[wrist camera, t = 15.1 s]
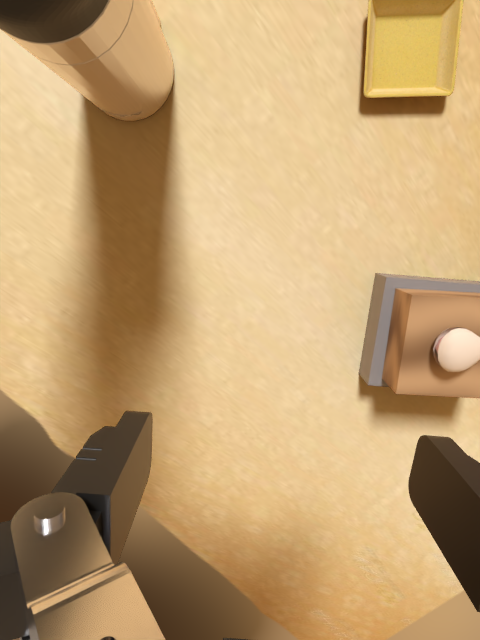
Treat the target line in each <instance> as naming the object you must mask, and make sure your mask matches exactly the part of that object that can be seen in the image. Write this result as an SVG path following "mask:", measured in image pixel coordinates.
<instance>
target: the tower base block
mask: <svg viewBox="0 0 480 640" xmlns="http://www.w3.org/2000/svg"><path fill="white" fill-rule="evenodd" d="M395 288H401V289H420V290H438V291H457V292H476V293H480V282H479V281H466V280H454V279H442V278H430V277H417V276H405V275H393V274H380V273H375V279H374V285H373V291H372V297H371V303H370V309H369V315H368V321H367V327H366V333H365V339H364V345H363V351H362V357H361V363H360V369H359V374H360V376H361V377H362V378H363V380H364V381H365V382H366V383H367V385H372V386H385V387H389V386H388V385H387V383H386V382H385V381H384V380H383V379H382V374H383V367H384V361H385V354H386V347H387V341H388V334H389V328H390V321H391V314H392V308H393V301H394V295H395Z"/></svg>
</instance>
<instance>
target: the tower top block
mask: <svg viewBox="0 0 480 640" xmlns="http://www.w3.org/2000/svg"><path fill="white" fill-rule="evenodd" d="M454 327H460V328H465V329H467V330H469V331H471V332H473V333H474V334H476V335H477V336H479V337H480V293H476V292H457V291H438V290H420V289H401V288H395V295H394V301H393V308H392V314H391V321H390V328H389V334H388V341H387V347H386V354H385V361H384V367H383V374H382V379H383V380H384V381H385V382H386V383H387V385H388V386H389V387H390V388H391V389H392V390H393V391H394V392H395V393H396V394H408V395H428V396H447V397H466V398H480V360H479V361H478V362H477V363H476V364H474V365H473V366H472V367H470V368H468V369H466V370H463V371H460V372H447V371H446V370H445V369H443V368H442V367H441V366H439V364H438V363H437V362H436V360H435V358H434V351H433V348H434V344H435V341H436V340H437V338H438V336H439V335H440V334H441V333H442V331H444V330H446V329H448V328H454Z"/></svg>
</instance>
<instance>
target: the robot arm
mask: <svg viewBox="0 0 480 640" xmlns="http://www.w3.org/2000/svg"><path fill="white" fill-rule="evenodd" d="M160 26H161V23H160V19H159V17H158V15H157V12H156V10H155V7H154V5H153V2H152V0H0V29H1V30H2V31H4V32H5V33H6V34H7V35H9V36H10V37H11V38H12V39H14V40H15V41H16V42H17V43H18V44H20V45H21V46H22V47H23V48H25V49H26V50H27V51H29V52H30V53H31V54H32V55H34V56H35V57H36V58H37V59H39V60H40V61H41V62H42V63H44V64H45V65H46V66H47V67H49V68H50V69H51V70H52V71H54V72H55V73H56V74H57V75H59V76H60V77H61V78H62V79H64V80H65V81H66V82H67V83H68V84H70V85H71V86H72V87H73V88H75V89H76V90H77V91H78V92H80V93H81V94H82V95H83V96H85V97H86V98H87V99H88V100H90V101H91V102H92V103H93V104H95V105H96V106H97V107H98V108H99V109H100V110H102V111H104V112H105V113H106V114H108V115H110V116H112V117H114V118H116V119H120V120H125V121H137V120H140V119H144V118H147V117H148V116H150V115H152V114H154V113H155V112H156V111H157V110H158V109H160V108H161V107H162V105H163V104H164V102H165V101H166V100H167V98H168V96H169V93H170V91H171V88H172V84H173V77H174V67H173V60H172V56H171V53H170V50H169V47H168V45H167V42H166V40H165V38H164V35H163V33H162V30H161V28H160ZM151 454H152V413H149V412H137V411H125V413H124V414H123V416H122V418H121V419H120V421H119V423H118V424H117V426H116V427H109V426H105V427H103V428H102V429H100V430H99V431H97V432H96V433H94V434H92V435H91V436H90V438H89V439H88V440H87V442H86V443H85V445H84V446H83V449H81V450H80V452H79V453H78V455H77V456H76V459H75V460H74V461H73V462H72V463H71V465H70V466H69V468H68V469H67V471H66V472H65V474H64V475H63V476H62V478H61V479H60V481H59V482H58V484H57V485H56V486H55V488H54V489H53V491H52V492H51V493H50V494H46V495H43V496H40V497H38V498H35V499H33V500H31V501H30V502H28V503H26V504H25V505H24V506H22V507H21V508H20V509H19V510H18V511H17V512H16V514H15V515H14V517H13V519H12V520H11V521H7V522H2V523H0V640H12V639H16V638H20V640H165V638H164V636H163V634H162V632H161V630H160V628H159V626H158V624H157V622H156V620H155V619H154V616H153V614H152V612H151V611H150V609H149V607H148V605H147V603H146V601H145V599H144V597H143V595H142V593H141V591H140V589H139V587H138V585H137V583H136V581H135V579H134V577H133V575H132V573H131V571H130V569H129V568H128V566H127V565H126V564H125V563H124V562H120V563H118V561H119V558H120V556H121V553H122V550H123V547H124V545H125V542H126V539H127V536H128V534H129V531H130V528H131V525H132V522H133V520H134V517H135V514H136V512H137V509H138V506H139V503H140V501H141V498H142V495H143V492H144V489H145V487H146V484H147V481H148V478H149V473H150V467H151ZM409 494H410V498H411V501H412V503H413V505H414V507H415V508H416V510H417V512H418V513H419V515H420V517H421V518H422V520H423V522H424V523H425V525H426V527H427V528H428V530H429V532H430V533H431V535H432V537H433V538H434V540H435V542H436V543H437V545H438V547H439V548H440V550H441V552H442V553H443V555H444V557H445V558H446V560H447V562H448V563H449V565H450V567H451V568H452V570H453V572H454V573H455V575H456V577H457V578H458V580H459V582H460V583H461V585H462V587H463V588H464V590H465V592H466V593H467V595H468V596H469V598H470V600H471V602H472V603H473V605H474V607H475V608H476V610H477V612H480V463H479V462H478V461H476V460H474V459H473V458H471V457H470V456H468V455H467V454H466V453H465V452H464V451H463V450H462V449H461V448H460V447H459V446H458V445H457V444H456V443H455V442H454V441H453V440H452V439H451V438H449V437H439V436H427V435H423V436H421V437H420V438H419V440H418V443H417V447H416V451H415V456H414V460H413V464H412V469H411V473H410V477H409ZM223 640H246V639H231V638H223Z"/></svg>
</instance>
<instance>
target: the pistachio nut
mask: <svg viewBox="0 0 480 640" xmlns="http://www.w3.org/2000/svg"><path fill="white" fill-rule="evenodd" d="M433 351H434V358H435V360H436V362H437V363H438V364H439V366H441V367H442V368H443V369H445V370H446V371H447V372H460V371H463V370H466V369H468V368H470V367H472V366H473V365H474V364H476V363H477V362H478V361H479V360H480V337H479V336H477V335H476V334H474V333H473V332H471V331H469V330H467V329H465V328H460V327H454V328H448V329H446V330H444V331H442V333H441V334H440V335H439V336H438V338H437V340H436V341H435V344H434V348H433Z"/></svg>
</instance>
